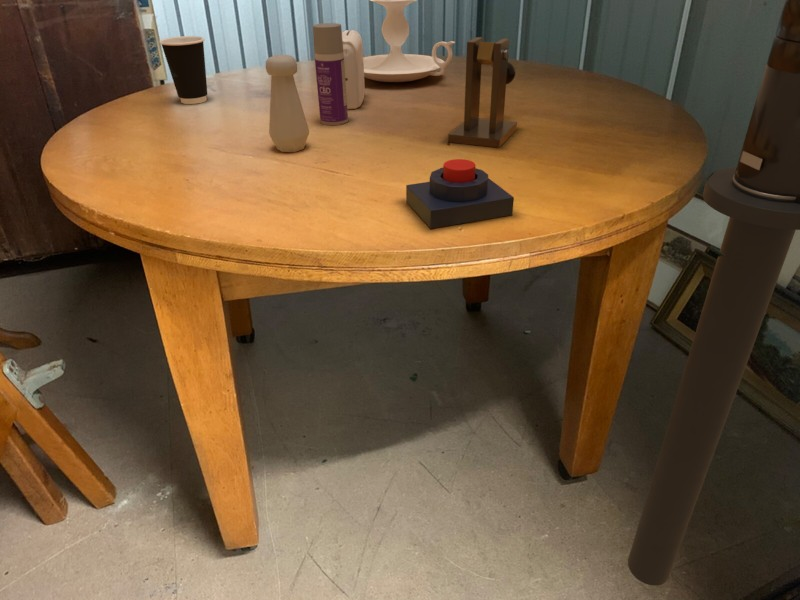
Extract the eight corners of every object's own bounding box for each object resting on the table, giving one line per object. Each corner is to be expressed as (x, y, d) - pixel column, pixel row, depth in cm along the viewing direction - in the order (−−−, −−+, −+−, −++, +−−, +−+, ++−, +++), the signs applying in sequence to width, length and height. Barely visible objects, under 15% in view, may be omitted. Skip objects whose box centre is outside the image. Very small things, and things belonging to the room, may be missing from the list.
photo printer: (361, 109, 108) (357, 35, 101) (337, 109, 108) (332, 35, 102) (366, 95, 117) (363, 26, 110) (344, 95, 117) (340, 26, 110)
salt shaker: (268, 144, 92) (256, 54, 85) (305, 140, 93) (295, 50, 86) (276, 156, 87) (263, 61, 80) (314, 151, 89) (305, 57, 82)
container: (319, 125, 100) (310, 27, 92) (321, 118, 104) (313, 23, 96) (347, 124, 100) (341, 26, 92) (348, 117, 104) (342, 22, 96)
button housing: (482, 190, 75) (483, 159, 72) (512, 215, 68) (515, 181, 66) (406, 202, 72) (405, 170, 70) (430, 229, 65) (430, 194, 63)
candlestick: (422, 98, 114) (422, -76, 99) (328, 82, 127) (315, -74, 112) (479, 78, 128) (487, -78, 113) (389, 65, 141) (385, -76, 126)
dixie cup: (223, 97, 118) (213, 37, 112) (197, 107, 111) (184, 44, 106) (191, 94, 120) (179, 35, 114) (163, 104, 114) (149, 42, 108)
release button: (466, 171, 70) (467, 157, 69) (480, 182, 67) (481, 167, 66) (438, 175, 69) (438, 161, 68) (450, 186, 66) (451, 171, 65)
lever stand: (468, 124, 99) (472, 33, 91) (516, 129, 96) (524, 36, 89) (448, 142, 91) (450, 44, 84) (499, 147, 88) (506, 47, 81)
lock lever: (493, 86, 100) (497, 63, 99) (515, 88, 99) (519, 65, 98) (471, 63, 87) (475, 37, 86) (495, 64, 85) (499, 38, 85)
